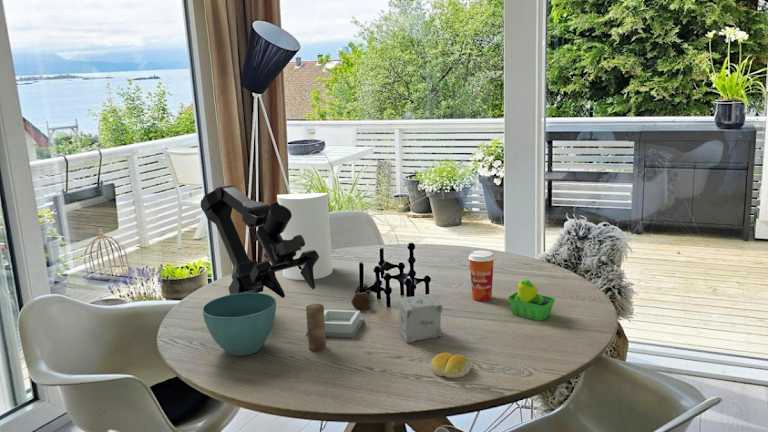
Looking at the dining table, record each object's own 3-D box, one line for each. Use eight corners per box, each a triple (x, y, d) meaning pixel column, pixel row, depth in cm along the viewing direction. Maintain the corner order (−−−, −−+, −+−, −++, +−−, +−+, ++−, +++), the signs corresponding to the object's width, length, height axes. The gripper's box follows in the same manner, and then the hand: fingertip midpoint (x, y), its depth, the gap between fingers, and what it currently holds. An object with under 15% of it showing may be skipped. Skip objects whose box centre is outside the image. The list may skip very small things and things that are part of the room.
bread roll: (441, 360, 164) (440, 345, 163) (475, 368, 159) (474, 352, 158) (424, 374, 157) (423, 358, 156) (459, 382, 152) (458, 365, 151)
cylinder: (330, 279, 230) (325, 197, 224) (279, 281, 231) (272, 199, 225) (334, 264, 247) (329, 188, 241) (286, 266, 248) (281, 190, 242)
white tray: (306, 335, 182) (305, 323, 182) (319, 319, 194) (318, 307, 193) (353, 337, 180) (352, 324, 179) (363, 320, 191) (363, 309, 190)
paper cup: (466, 301, 203) (465, 256, 200) (472, 293, 210) (472, 249, 207) (492, 303, 200) (491, 257, 197) (497, 295, 207) (497, 251, 204)
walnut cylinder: (306, 350, 172) (303, 309, 170) (311, 343, 177) (309, 303, 174) (323, 351, 171) (320, 310, 169) (328, 344, 176) (325, 304, 173)
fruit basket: (556, 315, 189) (556, 276, 187) (539, 325, 183) (540, 284, 180) (520, 307, 197) (520, 269, 194) (503, 315, 190) (503, 277, 188)
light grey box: (407, 345, 173) (406, 306, 171) (397, 333, 181) (396, 296, 179) (443, 339, 176) (442, 301, 174) (432, 328, 184) (431, 291, 181)
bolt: (366, 299, 215) (364, 314, 200) (352, 292, 214) (348, 306, 200) (374, 283, 214) (373, 297, 199) (360, 276, 213) (357, 289, 199)
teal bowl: (245, 370, 163) (240, 321, 160) (191, 356, 172) (186, 310, 170) (293, 343, 178) (290, 298, 175) (242, 331, 187) (238, 288, 185)
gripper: (251, 233, 171) (278, 284, 165) (313, 220, 183) (340, 267, 177) (239, 257, 179) (264, 307, 173) (298, 244, 190) (324, 290, 184)
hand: (299, 292), depth 176 cm, fingers open, 9 cm apart
